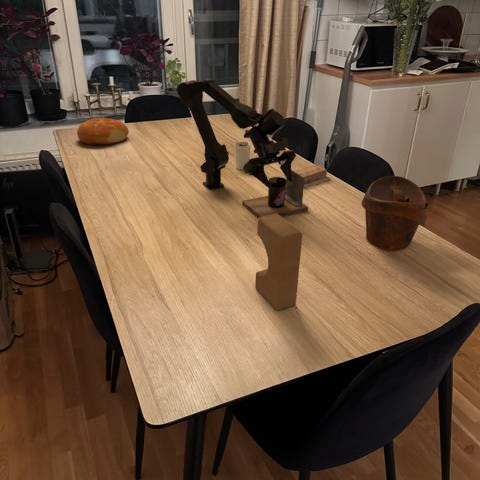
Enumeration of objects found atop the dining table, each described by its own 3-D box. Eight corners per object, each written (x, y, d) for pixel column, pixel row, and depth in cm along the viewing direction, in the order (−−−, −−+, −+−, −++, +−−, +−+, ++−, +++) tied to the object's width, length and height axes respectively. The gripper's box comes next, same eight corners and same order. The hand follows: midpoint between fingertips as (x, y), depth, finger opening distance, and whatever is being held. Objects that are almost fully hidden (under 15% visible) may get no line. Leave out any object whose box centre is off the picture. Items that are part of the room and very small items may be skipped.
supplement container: (270, 209, 153) (271, 184, 148) (265, 202, 157) (266, 177, 153) (286, 207, 154) (288, 182, 149) (281, 200, 159) (282, 176, 154)
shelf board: (242, 204, 159) (242, 173, 153) (286, 195, 166) (288, 165, 160) (261, 221, 148) (263, 188, 142) (307, 211, 155) (311, 179, 150)
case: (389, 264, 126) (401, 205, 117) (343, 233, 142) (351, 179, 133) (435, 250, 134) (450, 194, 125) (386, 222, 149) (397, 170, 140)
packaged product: (313, 161, 186) (331, 169, 179) (312, 173, 188) (330, 180, 181) (280, 170, 176) (298, 178, 169) (279, 182, 178) (297, 191, 171)
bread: (122, 148, 211) (120, 126, 206) (72, 147, 211) (68, 125, 206) (133, 134, 231) (131, 114, 226) (87, 133, 231) (84, 113, 226)
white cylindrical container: (231, 168, 190) (231, 145, 185) (237, 163, 195) (238, 140, 190) (246, 170, 188) (247, 147, 183) (252, 165, 193) (253, 142, 188)
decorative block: (254, 287, 116) (257, 216, 106) (273, 282, 118) (278, 212, 108) (276, 312, 107) (281, 237, 97) (296, 306, 109) (303, 232, 100)
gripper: (249, 134, 141) (269, 179, 139) (295, 126, 151) (314, 167, 149) (234, 152, 151) (253, 194, 149) (278, 143, 160) (296, 182, 158)
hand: (280, 184), depth 151 cm, fingers open, 9 cm apart
